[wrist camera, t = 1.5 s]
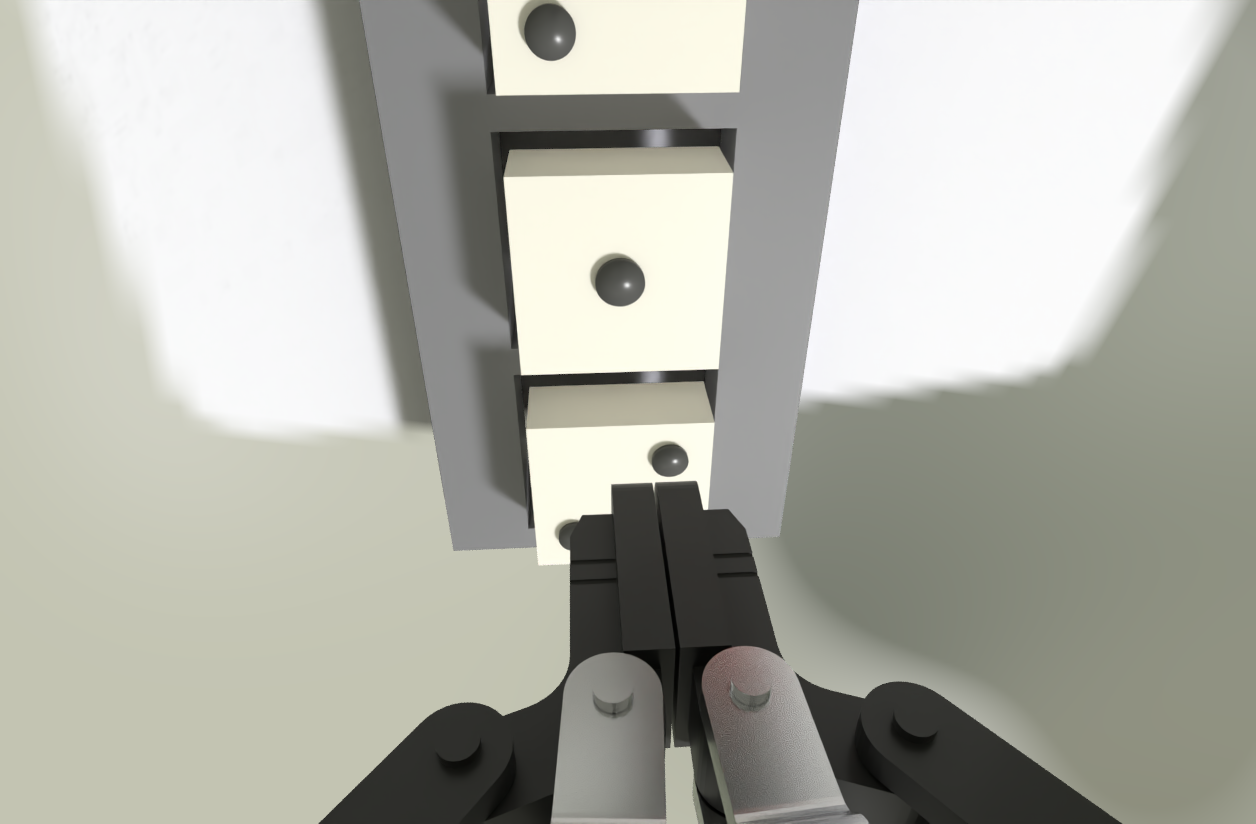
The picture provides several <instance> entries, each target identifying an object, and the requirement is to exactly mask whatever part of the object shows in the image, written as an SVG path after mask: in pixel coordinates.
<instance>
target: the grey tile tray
mask: <svg viewBox="0 0 1256 824" xmlns="http://www.w3.org/2000/svg"><path fill="white" fill-rule="evenodd" d="M359 2H360V8H361V14H362V20H363V25H364V31H365V37H366V43H367V49H368V55H369V60H370V66H371V72H372V78H373V84H374V90H375V95H376V101H377V107H378V113H379V119H380V125H381V130H382V136H383V142H384V148H385V154H386V159H387V165H388V171H389V177H390V183H391V189H392V194H393V200H394V206H395V212H396V218H397V224H398V229H399V235H400V241H401V247H402V253H403V259H404V264H405V270H406V276H407V282H408V288H409V293H410V299H411V305H412V311H413V317H414V323H415V328H416V334H417V340H418V346H419V352H420V358H421V363H422V369H423V375H424V381H425V387H426V392H427V398H428V404H429V410H430V416H431V422H432V427H433V433H434V439H435V445H436V451H437V457H438V462H439V468H440V474H441V480H442V486H443V491H444V497H445V503H446V509H447V514H448V520H449V526H450V532H451V538H452V543H453V549H454V551H457V550H481V549H505V548H528V547H537V544H536V533H535V522H534V511H533V499H532V488H531V483H530V472H529V460H528V449H527V438H526V427H525V416H524V405H523V393H522V382H521V367H520V356H519V345H518V333H517V322H516V315H515V304H514V293H513V282H512V271H511V260H510V248H509V237H508V226H507V215H506V204H505V193H504V181H503V170H502V159H501V148H500V137H499V132H522V131H586V130H650V129H714V128H721V143H720V150H721V152H722V153H723V155H724V157H725V159H726V160H727V162H728V164H729V166H730V168H731V169H732V171H733V186H732V199H731V212H730V225H729V238H728V251H727V264H726V277H725V290H724V303H723V316H722V330H721V343H720V356H719V369H706V371H705V389H706V392H707V396H708V400H709V404H710V407H711V411H712V415H713V419H714V422H715V424H714V437H713V450H712V463H711V476H710V489H709V502H708V510H713V509H729V510H730V511H731V513H732V514H733V515H734V516H735V517H736V518H737V520H738V521H739V522H740V523H741V524H742V525H743V526H744V528H745V529H746V532H747V535H748V538H760V537H779V536H780V529H781V523H782V516H783V509H784V503H785V495H786V489H787V482H788V475H789V468H790V462H791V455H792V449H793V442H794V435H795V428H796V422H797V415H798V408H799V402H800V395H801V388H802V381H803V375H804V368H805V361H806V354H807V348H808V341H809V334H810V328H811V321H812V314H813V307H814V301H815V294H816V287H817V280H818V274H819V267H820V260H821V253H822V247H823V240H824V233H825V227H826V220H827V213H828V206H829V200H830V193H831V186H832V179H833V173H834V166H835V159H836V152H837V146H838V139H839V132H840V125H841V119H842V112H843V105H844V99H845V92H846V85H847V78H848V72H849V65H850V58H851V51H852V45H853V38H854V31H855V24H856V18H857V11H858V4H859V0H746V13H745V26H744V39H743V52H742V65H741V78H740V91H739V92H726V93H651V94H575V95H500V96H496V90H495V79H494V70H493V59H492V48H491V36H490V25H489V14H488V3H487V0H359Z"/></svg>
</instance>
